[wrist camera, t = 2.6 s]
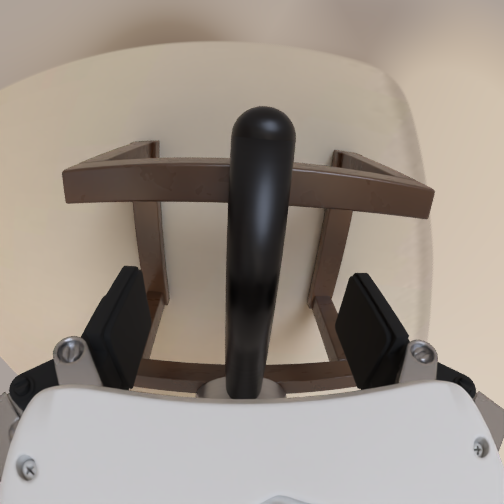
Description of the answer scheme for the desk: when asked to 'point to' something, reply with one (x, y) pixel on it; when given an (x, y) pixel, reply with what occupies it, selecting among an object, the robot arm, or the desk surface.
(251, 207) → the grey saucepan
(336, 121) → the desk surface
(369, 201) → the rack
